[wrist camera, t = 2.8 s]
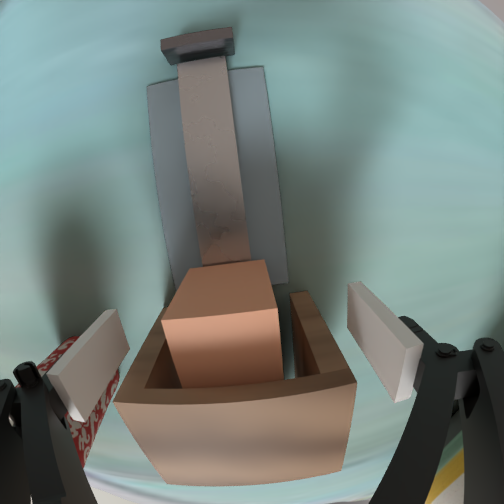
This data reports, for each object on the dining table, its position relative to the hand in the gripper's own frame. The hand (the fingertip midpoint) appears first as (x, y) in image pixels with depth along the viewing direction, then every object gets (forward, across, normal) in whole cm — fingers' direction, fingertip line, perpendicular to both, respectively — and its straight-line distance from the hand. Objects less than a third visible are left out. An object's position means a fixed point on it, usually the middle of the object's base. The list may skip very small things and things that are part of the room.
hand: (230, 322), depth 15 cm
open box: (+8, 0, -6) cm, 10 cm away
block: (+6, 0, -7) cm, 9 cm away
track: (+7, 0, +3) cm, 8 cm away
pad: (+7, 0, +8) cm, 11 cm away
